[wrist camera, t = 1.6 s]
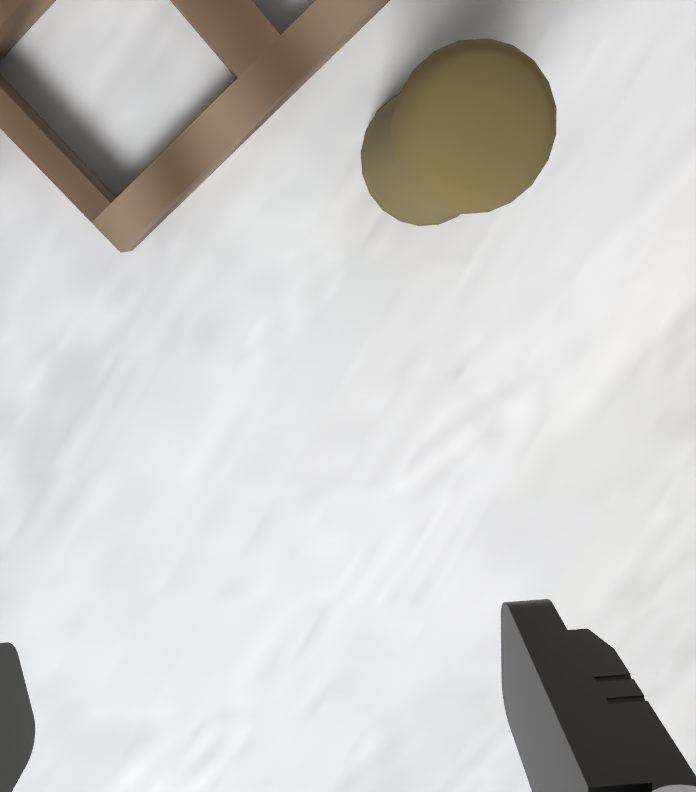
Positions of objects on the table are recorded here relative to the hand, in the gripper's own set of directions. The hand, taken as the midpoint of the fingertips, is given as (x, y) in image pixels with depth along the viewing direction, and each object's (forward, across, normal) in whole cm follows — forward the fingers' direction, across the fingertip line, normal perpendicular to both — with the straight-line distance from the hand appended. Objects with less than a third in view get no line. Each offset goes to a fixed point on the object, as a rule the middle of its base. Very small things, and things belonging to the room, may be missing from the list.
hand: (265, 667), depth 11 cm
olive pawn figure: (+23, +6, +9) cm, 25 cm away
